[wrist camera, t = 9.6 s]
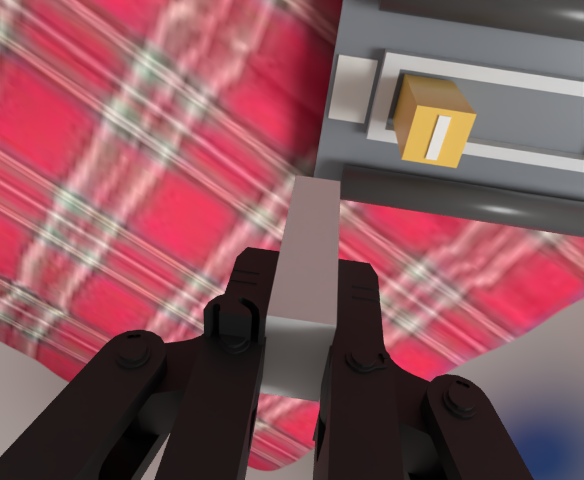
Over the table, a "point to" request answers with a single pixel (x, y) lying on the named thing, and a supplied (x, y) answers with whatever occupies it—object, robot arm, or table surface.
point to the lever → (432, 121)
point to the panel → (482, 98)
